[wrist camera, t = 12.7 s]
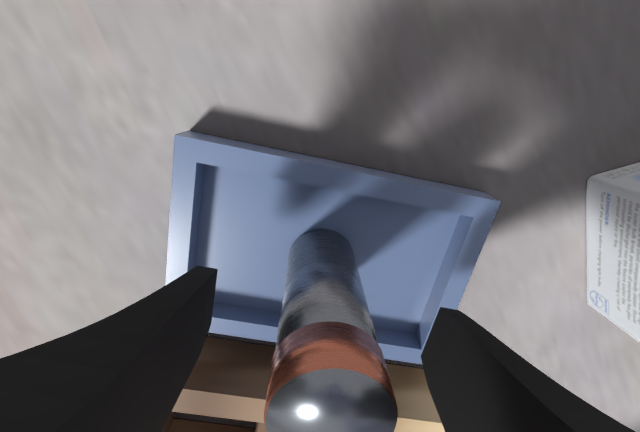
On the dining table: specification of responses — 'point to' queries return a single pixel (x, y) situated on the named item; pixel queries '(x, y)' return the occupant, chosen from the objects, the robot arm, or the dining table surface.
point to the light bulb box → (614, 246)
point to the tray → (314, 213)
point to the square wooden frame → (225, 387)
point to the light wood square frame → (413, 400)
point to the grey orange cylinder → (327, 346)
